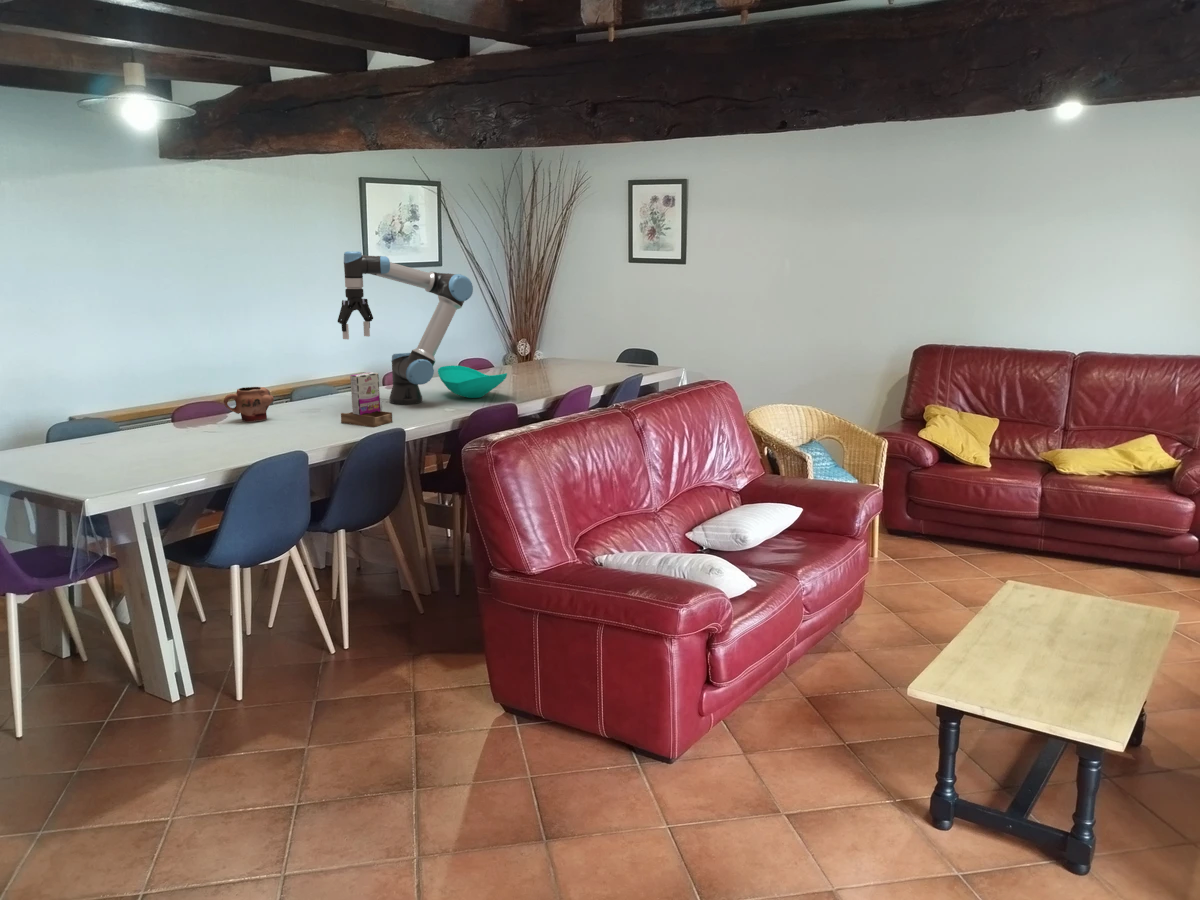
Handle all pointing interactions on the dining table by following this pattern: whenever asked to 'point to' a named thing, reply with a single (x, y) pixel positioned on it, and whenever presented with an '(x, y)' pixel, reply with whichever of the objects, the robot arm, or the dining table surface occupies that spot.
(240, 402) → the brown sculpted mug
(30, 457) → the dining table surface
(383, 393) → the dining table surface
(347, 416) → the crate
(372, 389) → the candy bar box
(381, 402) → the white rounded block
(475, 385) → the table top decor
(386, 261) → the robot arm
